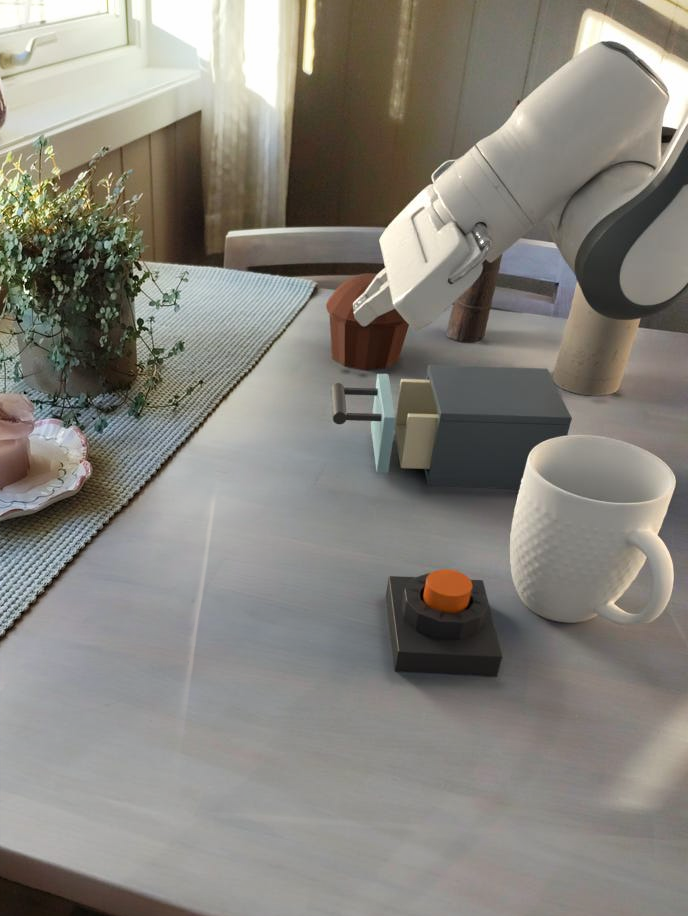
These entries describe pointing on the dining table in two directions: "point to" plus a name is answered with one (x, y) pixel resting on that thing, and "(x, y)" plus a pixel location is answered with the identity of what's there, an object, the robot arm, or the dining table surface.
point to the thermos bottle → (596, 341)
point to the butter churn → (475, 303)
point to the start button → (447, 591)
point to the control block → (441, 632)
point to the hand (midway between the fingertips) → (357, 316)
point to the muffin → (363, 329)
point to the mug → (590, 529)
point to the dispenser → (491, 423)
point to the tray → (395, 420)
